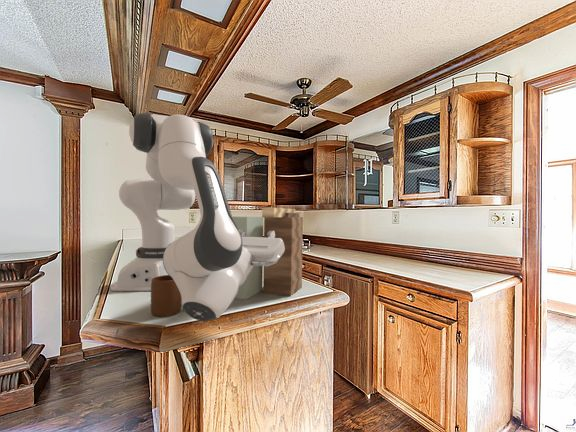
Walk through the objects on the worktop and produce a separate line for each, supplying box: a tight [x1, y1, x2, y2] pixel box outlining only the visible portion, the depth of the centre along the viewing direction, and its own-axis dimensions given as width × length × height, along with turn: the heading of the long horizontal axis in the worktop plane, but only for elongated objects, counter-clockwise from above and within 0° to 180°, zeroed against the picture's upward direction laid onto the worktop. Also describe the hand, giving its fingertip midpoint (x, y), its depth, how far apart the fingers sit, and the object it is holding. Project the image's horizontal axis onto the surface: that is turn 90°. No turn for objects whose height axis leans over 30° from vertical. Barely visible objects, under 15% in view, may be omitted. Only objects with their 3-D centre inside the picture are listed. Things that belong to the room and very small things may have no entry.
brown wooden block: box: [262, 212, 304, 297], centre depth 100 cm, size 12×10×28 cm
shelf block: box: [232, 215, 264, 300], centre depth 95 cm, size 12×8×26 cm, turn 160°
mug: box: [150, 275, 182, 318], centre depth 78 cm, size 12×8×9 cm, turn 6°
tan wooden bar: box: [261, 207, 296, 218], centre depth 96 cm, size 20×4×3 cm, turn 160°
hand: (257, 232), depth 80 cm, fingers open, 8 cm apart
